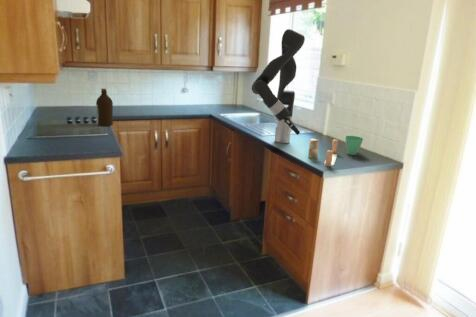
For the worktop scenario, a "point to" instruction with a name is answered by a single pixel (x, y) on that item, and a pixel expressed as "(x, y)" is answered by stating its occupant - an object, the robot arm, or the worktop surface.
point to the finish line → (331, 154)
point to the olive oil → (104, 109)
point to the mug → (353, 144)
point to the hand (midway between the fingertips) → (297, 132)
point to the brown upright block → (313, 148)
